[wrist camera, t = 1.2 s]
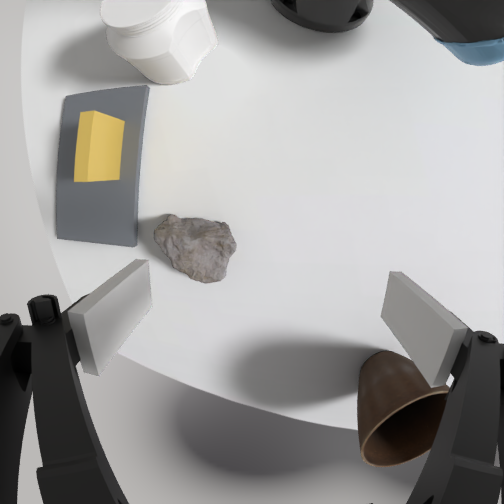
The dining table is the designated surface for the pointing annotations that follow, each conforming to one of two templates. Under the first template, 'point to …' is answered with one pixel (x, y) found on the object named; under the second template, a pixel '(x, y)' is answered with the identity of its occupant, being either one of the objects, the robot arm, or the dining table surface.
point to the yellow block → (98, 147)
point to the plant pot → (396, 410)
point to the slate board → (101, 192)
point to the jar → (160, 36)
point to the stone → (196, 247)
